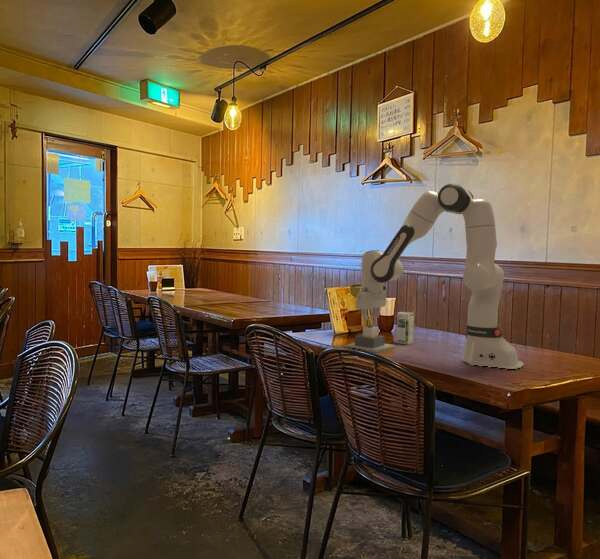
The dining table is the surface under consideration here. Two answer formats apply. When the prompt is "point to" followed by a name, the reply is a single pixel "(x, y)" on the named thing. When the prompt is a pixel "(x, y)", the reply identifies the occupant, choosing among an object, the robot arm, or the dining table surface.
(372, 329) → the plug
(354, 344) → the socket
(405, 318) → the syrup box
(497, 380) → the dining table surface
